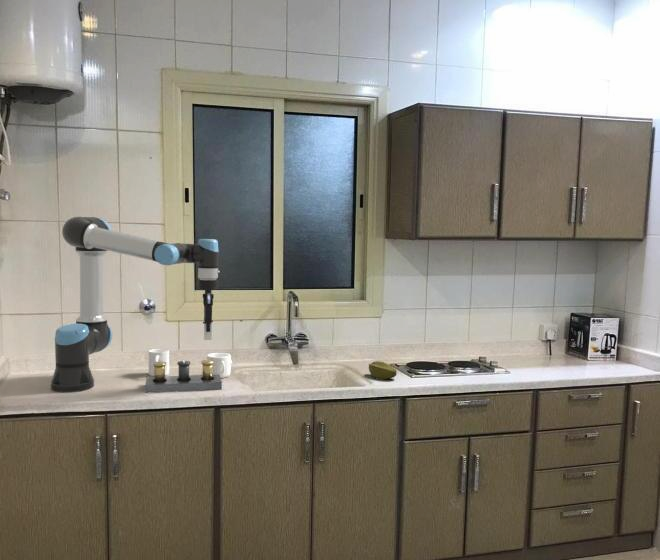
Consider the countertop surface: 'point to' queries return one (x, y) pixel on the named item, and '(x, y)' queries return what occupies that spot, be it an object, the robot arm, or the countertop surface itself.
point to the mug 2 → (221, 363)
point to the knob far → (207, 369)
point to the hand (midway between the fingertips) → (207, 339)
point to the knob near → (159, 371)
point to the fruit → (382, 370)
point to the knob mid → (183, 370)
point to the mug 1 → (158, 359)
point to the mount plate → (183, 384)
